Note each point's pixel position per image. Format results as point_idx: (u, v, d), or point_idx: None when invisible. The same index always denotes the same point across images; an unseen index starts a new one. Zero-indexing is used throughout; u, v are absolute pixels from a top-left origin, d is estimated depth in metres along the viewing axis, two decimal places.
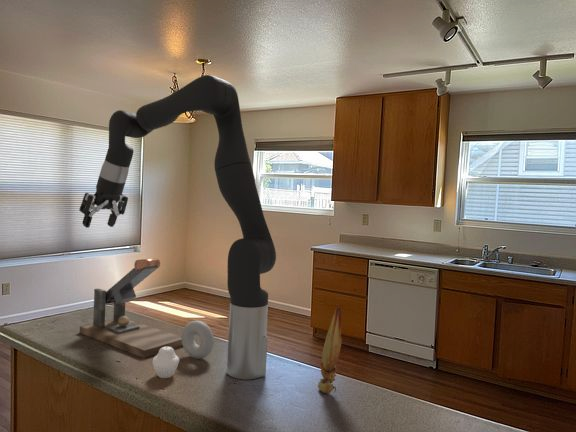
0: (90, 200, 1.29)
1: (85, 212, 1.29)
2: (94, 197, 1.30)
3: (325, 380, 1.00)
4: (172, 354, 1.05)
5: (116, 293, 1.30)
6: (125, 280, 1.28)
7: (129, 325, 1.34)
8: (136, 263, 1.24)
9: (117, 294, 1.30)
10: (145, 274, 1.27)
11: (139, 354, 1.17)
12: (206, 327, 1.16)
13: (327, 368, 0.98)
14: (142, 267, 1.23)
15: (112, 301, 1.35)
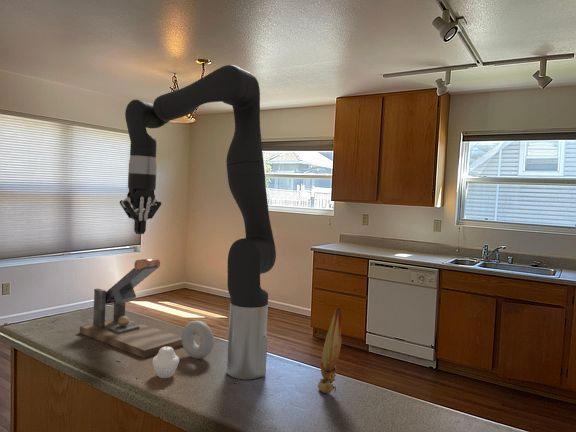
0: (128, 205, 1.22)
1: (134, 216, 1.24)
2: None
3: (325, 380, 1.00)
4: (172, 354, 1.05)
5: (116, 293, 1.30)
6: (125, 280, 1.28)
7: (129, 325, 1.34)
8: (136, 263, 1.24)
9: (117, 294, 1.30)
10: (145, 274, 1.27)
11: (139, 354, 1.17)
12: (206, 327, 1.16)
13: (327, 368, 0.98)
14: (142, 267, 1.23)
15: (112, 301, 1.35)
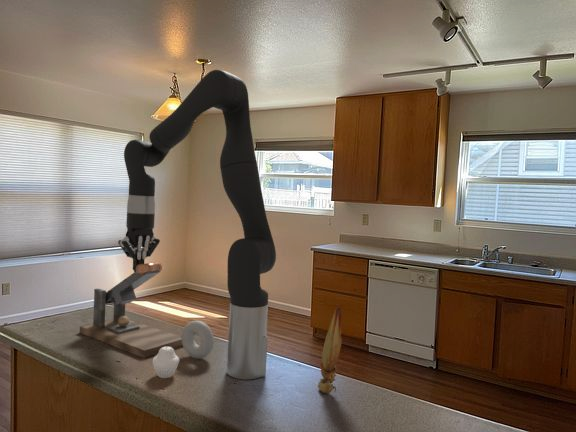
0: (126, 245, 1.23)
1: (133, 255, 1.25)
2: None
3: (325, 380, 1.00)
4: (172, 354, 1.05)
5: (116, 295, 1.30)
6: (126, 283, 1.27)
7: (129, 325, 1.34)
8: (138, 267, 1.23)
9: (117, 296, 1.30)
10: (146, 278, 1.27)
11: (139, 354, 1.17)
12: (206, 327, 1.16)
13: (327, 368, 0.98)
14: (144, 272, 1.22)
15: (112, 301, 1.35)
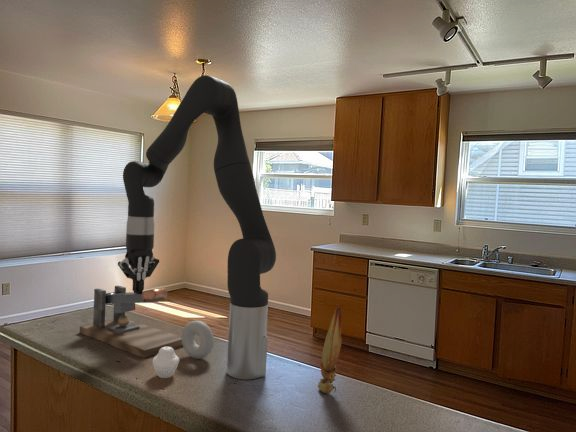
0: (126, 266, 1.23)
1: (132, 276, 1.25)
2: None
3: (325, 380, 1.00)
4: (172, 354, 1.05)
5: (117, 303, 1.30)
6: (129, 299, 1.27)
7: (129, 325, 1.34)
8: (144, 293, 1.22)
9: (118, 305, 1.30)
10: None
11: (139, 354, 1.17)
12: (206, 327, 1.16)
13: (327, 368, 0.98)
14: (149, 300, 1.21)
15: None
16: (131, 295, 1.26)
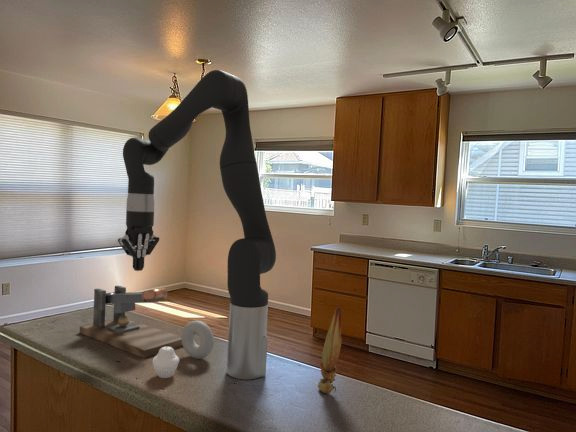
0: (126, 243, 1.23)
1: (132, 253, 1.25)
2: None
3: (325, 380, 1.00)
4: (172, 354, 1.05)
5: (117, 303, 1.30)
6: (129, 299, 1.27)
7: (129, 325, 1.34)
8: (144, 293, 1.22)
9: (118, 305, 1.30)
10: None
11: (139, 354, 1.17)
12: (206, 327, 1.16)
13: (327, 368, 0.98)
14: (149, 300, 1.21)
15: None
16: (131, 295, 1.26)
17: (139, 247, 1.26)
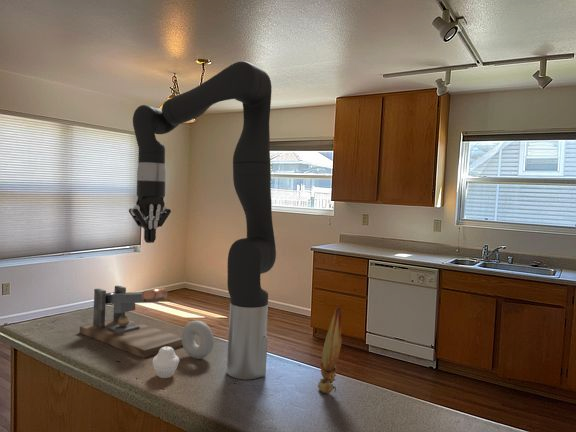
0: (137, 213, 1.19)
1: (144, 224, 1.21)
2: None
3: (325, 380, 1.00)
4: (172, 354, 1.05)
5: (117, 303, 1.30)
6: (129, 299, 1.27)
7: (129, 325, 1.34)
8: (144, 293, 1.22)
9: (118, 305, 1.30)
10: None
11: (139, 354, 1.17)
12: (206, 327, 1.16)
13: (327, 368, 0.98)
14: (149, 300, 1.21)
15: None
16: (131, 295, 1.26)
17: (150, 218, 1.22)
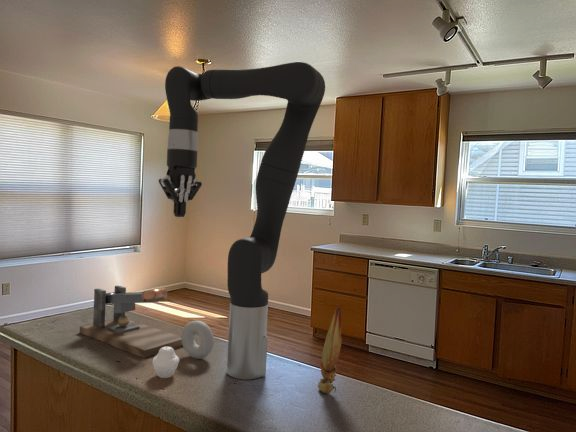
0: (168, 184, 1.10)
1: (174, 196, 1.12)
2: None
3: (325, 380, 1.00)
4: (172, 354, 1.05)
5: (117, 303, 1.30)
6: (129, 299, 1.27)
7: (129, 325, 1.34)
8: (144, 293, 1.22)
9: (118, 305, 1.30)
10: None
11: (139, 354, 1.17)
12: (206, 327, 1.16)
13: (327, 368, 0.98)
14: (149, 300, 1.21)
15: None
16: (131, 295, 1.26)
17: (181, 190, 1.13)
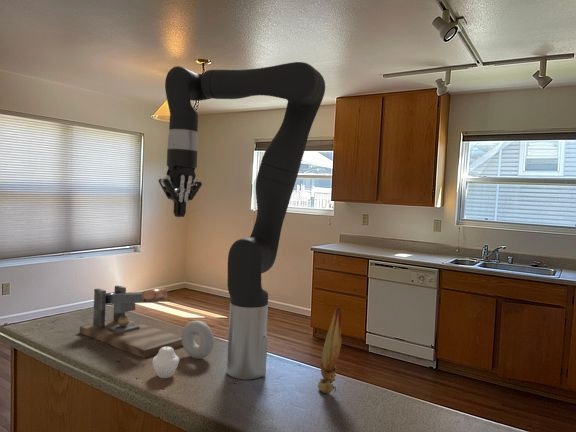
0: (168, 184, 1.10)
1: (174, 196, 1.12)
2: None
3: (325, 380, 1.00)
4: (172, 354, 1.05)
5: (117, 303, 1.30)
6: (129, 299, 1.27)
7: (129, 325, 1.34)
8: (144, 293, 1.22)
9: (118, 305, 1.30)
10: None
11: (139, 354, 1.17)
12: (206, 327, 1.16)
13: (327, 368, 0.98)
14: (149, 300, 1.21)
15: None
16: (131, 295, 1.26)
17: (181, 190, 1.13)
